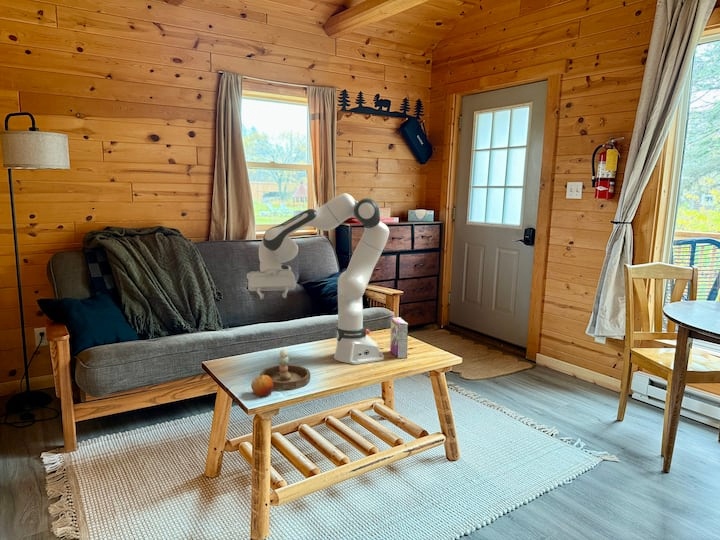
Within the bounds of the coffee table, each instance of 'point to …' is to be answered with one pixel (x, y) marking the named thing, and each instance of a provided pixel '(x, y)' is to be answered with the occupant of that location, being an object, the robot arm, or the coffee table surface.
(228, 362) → the coffee table surface
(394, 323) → the candy bar box
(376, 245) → the robot arm
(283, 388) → the walnut tray
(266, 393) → the fruit
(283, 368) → the bead column
